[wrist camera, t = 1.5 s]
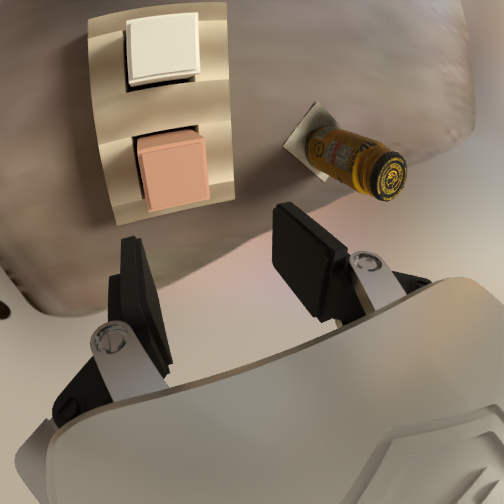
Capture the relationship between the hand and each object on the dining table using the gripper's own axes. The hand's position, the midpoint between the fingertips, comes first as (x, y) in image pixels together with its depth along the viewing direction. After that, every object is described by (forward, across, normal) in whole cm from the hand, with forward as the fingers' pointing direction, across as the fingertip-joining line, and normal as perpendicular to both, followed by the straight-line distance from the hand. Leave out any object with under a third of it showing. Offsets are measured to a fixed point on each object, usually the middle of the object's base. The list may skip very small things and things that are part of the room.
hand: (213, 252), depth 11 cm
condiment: (+20, -19, +1) cm, 27 cm away
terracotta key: (+17, 0, 0) cm, 17 cm away
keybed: (+19, 0, -5) cm, 20 cm away
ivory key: (+17, 0, -10) cm, 20 cm away
